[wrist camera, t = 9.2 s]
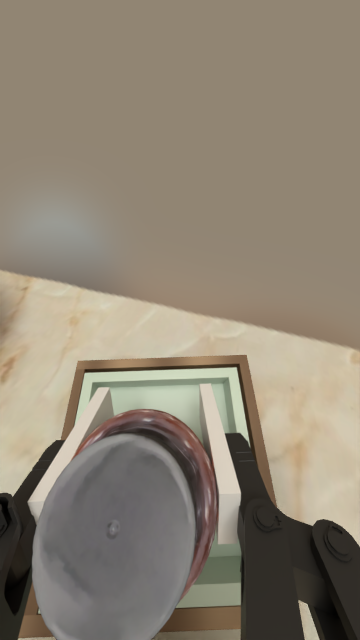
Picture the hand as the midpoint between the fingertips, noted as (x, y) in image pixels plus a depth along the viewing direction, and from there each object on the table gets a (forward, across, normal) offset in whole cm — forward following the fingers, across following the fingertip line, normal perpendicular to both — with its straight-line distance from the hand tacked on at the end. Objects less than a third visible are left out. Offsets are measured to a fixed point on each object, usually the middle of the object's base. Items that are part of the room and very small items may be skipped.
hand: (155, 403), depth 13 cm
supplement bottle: (0, 0, -5) cm, 5 cm away
